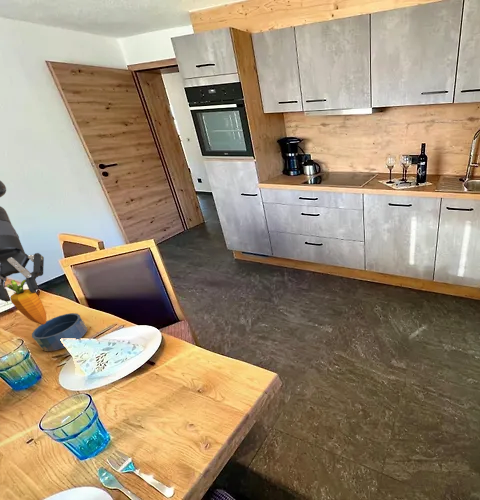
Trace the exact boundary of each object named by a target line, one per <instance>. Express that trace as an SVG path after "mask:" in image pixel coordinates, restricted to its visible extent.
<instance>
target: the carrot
mask: <svg viewBox="0 0 480 500" xmlns="http://www.w3.org/2000/svg"><path fill="white" fill-rule="evenodd" d="M10 283H11V284H7V285H6V288H7V289H9V290H10V291H11V290H12V291H13V292H14V293H13V294H12V295H10V296H9V297H10V300H11V301H10V302H11V303H12V304H13V306H14V307H15V308H16V309H17V310H18V311H19V312H20V313H21V314H22V315H23V316H24V317H26V318H27V319H28V320H30V321H32V322H33V323H36V324H39V325H41V324H45V323H46V321H47V313H46V309H45V306H44V304H43V301H42V299H40V296H39V295H38V294H37V292H36V293H31V292H30V290H29V288H24V285H25V283H26V281H25V279H23V280H22V281H21V282H20V284H19V285H18V283H17V281H15V279H12V280H10Z"/></svg>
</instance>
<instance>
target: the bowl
mask: <svg viewBox="0 0 480 500" xmlns="http://www.w3.org/2000/svg"><path fill="white" fill-rule="evenodd" d="M87 331H88V326H87V324H86V322H85V321H84V320H83V317H82V316H81V315H80V314H78V313H76V312H75V313H74V312H72V313H64V314H61V315H57V316H55V317H52V318H51V319H49V320H46V323H45V324H39V325H38V326H37V327H36V328H35V329H34V330H33V331H32V333H31V338H32V339H33V341H34V342H35V343H36V344H37V346H38V347H39V348H40V349H41V351H44V352H53V351H59V350H61V349H65V348H66V347H64V346H63V344H62V343H61V341H60V339H61V338H76V339H79V340H81V338H83V337H84V335H85V334H86V333H87Z"/></svg>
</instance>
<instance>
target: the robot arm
mask: <svg viewBox="0 0 480 500" xmlns="http://www.w3.org/2000/svg"><path fill="white" fill-rule="evenodd" d="M6 192H7V187H6V185H5V183H4V182H3V181H1V180H0V198H2V197H3V196H4V195H5V194H6ZM30 261H31V263H33V268H32V269H33V271H29V270H28V269H27V268H26V267H27V265H28V264H29V262H30ZM44 261H45V257H44V256H43V255H42V254H41V253H40V252H36V253H34V254H27V253H26V251H25V250H24V247H23V245H22V243H21V240H20V236H19V233H17V231H16V229H15V228H14V226H13V223H12V222H11V219H10V217H9V214H8V213H7V211H6V209H5V207H3V206H1V205H0V301H3V302H5V303H6V302H7V303H8V302H11V298H10V297H11V296H10V294H9V293H8V290H7V287H5V286H6V282H7V278H8V277H9V276H12V275H16V274H21V275H22V276H23V277H24V278H25V279H24V280H25V281H26V282H25V283H26V285H27V286H26V287H27V289H29V290H30V292H31V293H36V294H37V293H38V290H39V285H38V283H37V280H36V279H37V278H39V277H42V276H43V275H44V264H45V263H44Z"/></svg>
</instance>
